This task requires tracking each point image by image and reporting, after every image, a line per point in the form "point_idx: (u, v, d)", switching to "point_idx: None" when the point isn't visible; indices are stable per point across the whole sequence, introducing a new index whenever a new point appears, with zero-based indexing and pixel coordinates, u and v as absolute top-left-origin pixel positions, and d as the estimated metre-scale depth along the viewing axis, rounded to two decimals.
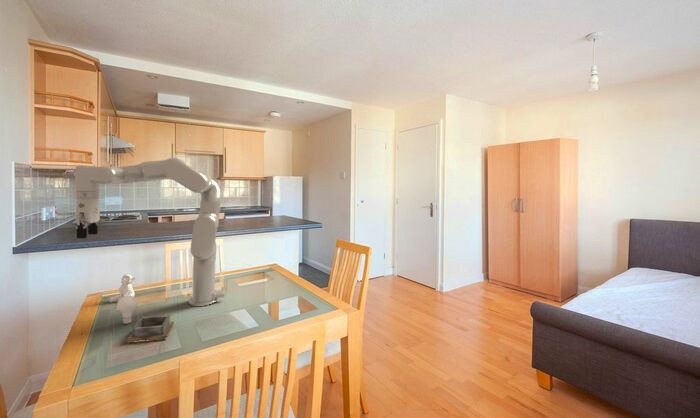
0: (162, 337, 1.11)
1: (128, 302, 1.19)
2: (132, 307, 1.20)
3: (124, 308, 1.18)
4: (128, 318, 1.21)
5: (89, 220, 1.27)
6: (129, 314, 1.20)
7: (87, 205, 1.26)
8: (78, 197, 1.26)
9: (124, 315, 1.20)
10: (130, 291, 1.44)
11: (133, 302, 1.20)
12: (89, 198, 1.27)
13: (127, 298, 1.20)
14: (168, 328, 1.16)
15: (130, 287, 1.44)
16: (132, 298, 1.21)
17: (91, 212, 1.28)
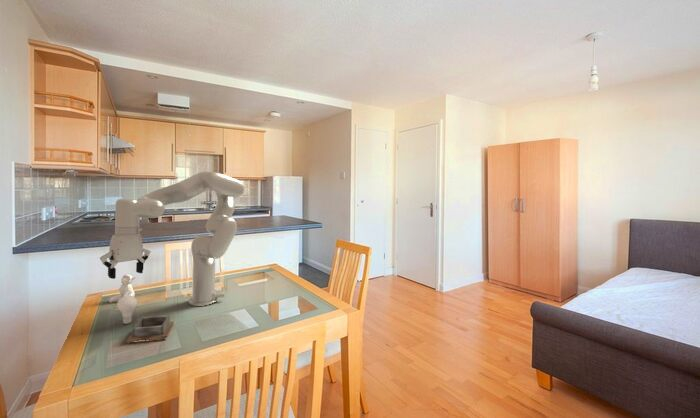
0: (162, 337, 1.11)
1: (128, 302, 1.19)
2: (132, 307, 1.20)
3: (124, 308, 1.18)
4: (128, 318, 1.21)
5: None
6: (129, 314, 1.20)
7: None
8: (139, 232, 1.21)
9: (124, 315, 1.20)
10: (130, 291, 1.44)
11: (133, 302, 1.20)
12: None
13: (127, 298, 1.20)
14: (168, 328, 1.16)
15: (130, 287, 1.44)
16: (132, 298, 1.21)
17: None
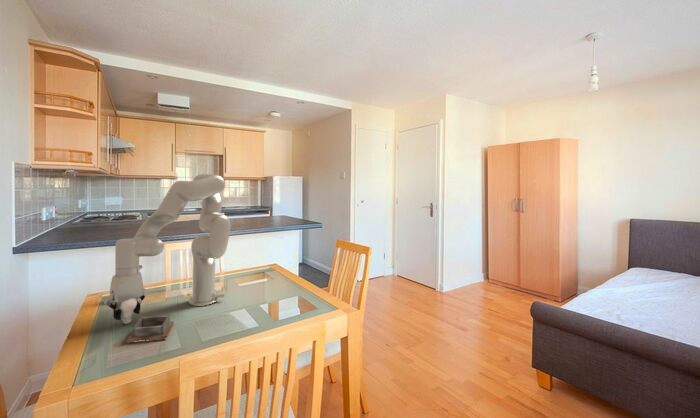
0: (162, 337, 1.11)
1: (128, 302, 1.19)
2: (132, 307, 1.20)
3: (124, 308, 1.18)
4: (128, 318, 1.21)
5: None
6: (129, 314, 1.20)
7: None
8: None
9: (124, 315, 1.20)
10: None
11: (133, 302, 1.20)
12: None
13: None
14: (168, 328, 1.16)
15: None
16: None
17: None
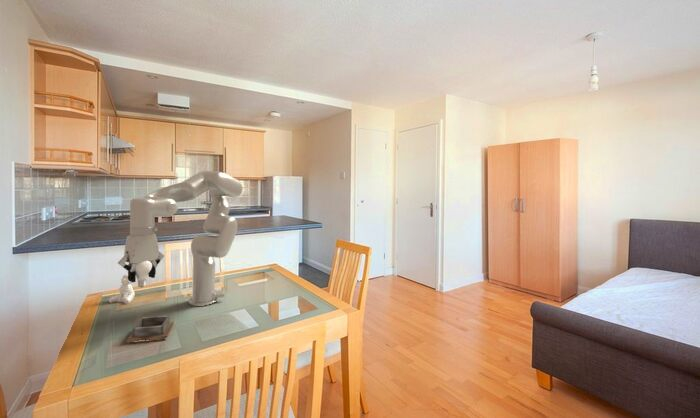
0: (162, 337, 1.11)
1: (143, 264, 1.14)
2: (147, 269, 1.15)
3: (139, 270, 1.13)
4: (143, 281, 1.15)
5: None
6: (144, 277, 1.15)
7: None
8: None
9: (139, 278, 1.14)
10: (130, 291, 1.44)
11: (148, 264, 1.15)
12: None
13: None
14: (168, 328, 1.16)
15: (130, 287, 1.44)
16: None
17: None
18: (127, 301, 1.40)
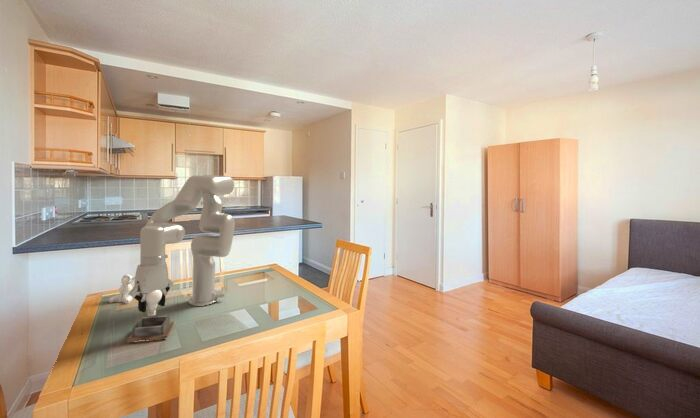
0: (162, 337, 1.11)
1: (153, 293, 1.12)
2: (157, 299, 1.13)
3: (150, 299, 1.11)
4: (153, 310, 1.13)
5: None
6: (154, 306, 1.13)
7: None
8: (164, 261, 1.15)
9: (149, 307, 1.12)
10: None
11: (158, 293, 1.13)
12: None
13: None
14: (168, 328, 1.16)
15: (130, 287, 1.44)
16: None
17: None
18: (127, 301, 1.40)
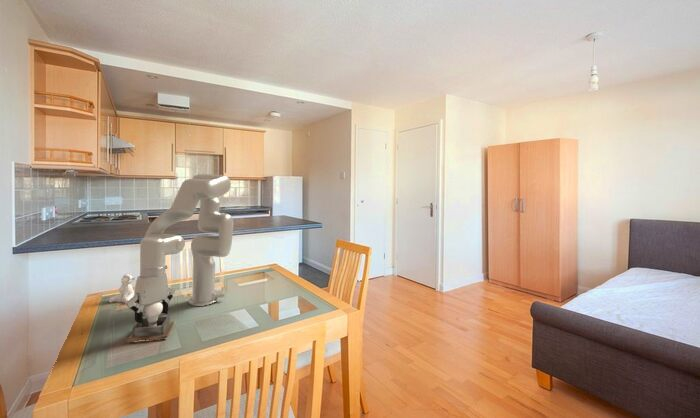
0: (162, 337, 1.11)
1: (154, 306, 1.12)
2: (158, 312, 1.13)
3: (150, 313, 1.12)
4: (154, 324, 1.14)
5: None
6: (155, 319, 1.14)
7: None
8: None
9: (150, 320, 1.13)
10: (130, 291, 1.44)
11: (159, 307, 1.14)
12: None
13: None
14: (168, 328, 1.16)
15: (130, 287, 1.44)
16: (158, 302, 1.14)
17: None
18: None
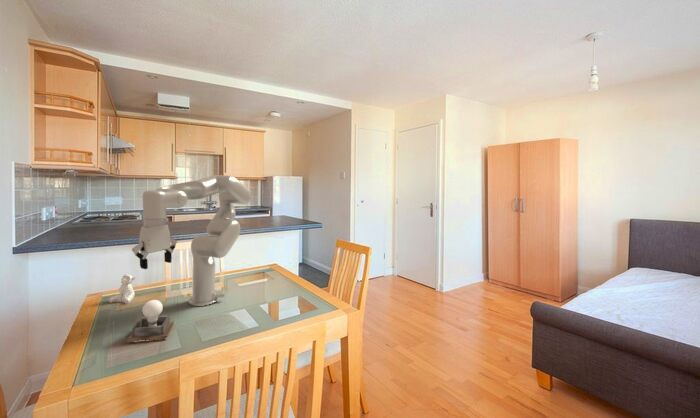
0: (162, 337, 1.11)
1: (154, 307, 1.12)
2: (158, 312, 1.13)
3: (150, 313, 1.11)
4: (154, 324, 1.14)
5: None
6: (155, 319, 1.14)
7: None
8: None
9: (149, 321, 1.13)
10: (130, 291, 1.44)
11: (159, 307, 1.13)
12: None
13: (153, 303, 1.13)
14: (168, 328, 1.16)
15: (130, 287, 1.44)
16: (158, 302, 1.14)
17: None
18: (127, 301, 1.40)
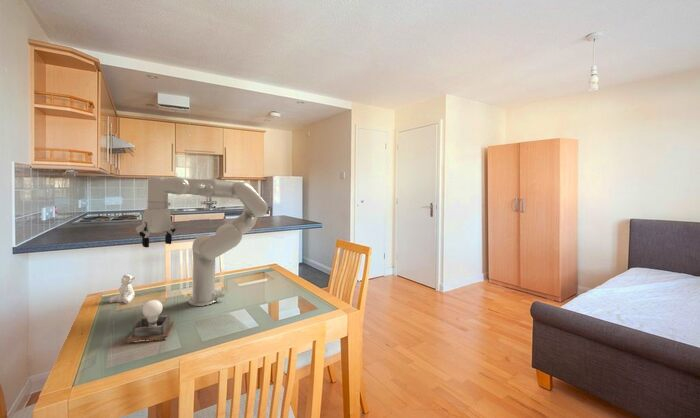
0: (162, 337, 1.11)
1: (154, 307, 1.12)
2: (158, 312, 1.13)
3: (150, 313, 1.11)
4: (154, 324, 1.14)
5: None
6: (155, 319, 1.14)
7: None
8: None
9: (149, 321, 1.13)
10: (130, 291, 1.44)
11: (159, 307, 1.13)
12: None
13: (153, 303, 1.13)
14: (168, 328, 1.16)
15: (130, 287, 1.44)
16: (158, 303, 1.14)
17: None
18: (127, 301, 1.40)
